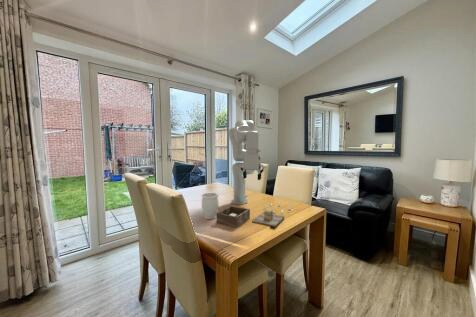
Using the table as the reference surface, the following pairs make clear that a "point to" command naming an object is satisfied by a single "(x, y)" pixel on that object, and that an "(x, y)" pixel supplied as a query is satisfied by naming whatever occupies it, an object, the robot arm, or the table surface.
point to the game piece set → (279, 205)
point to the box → (227, 219)
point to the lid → (268, 218)
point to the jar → (210, 205)
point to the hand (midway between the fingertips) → (251, 179)
